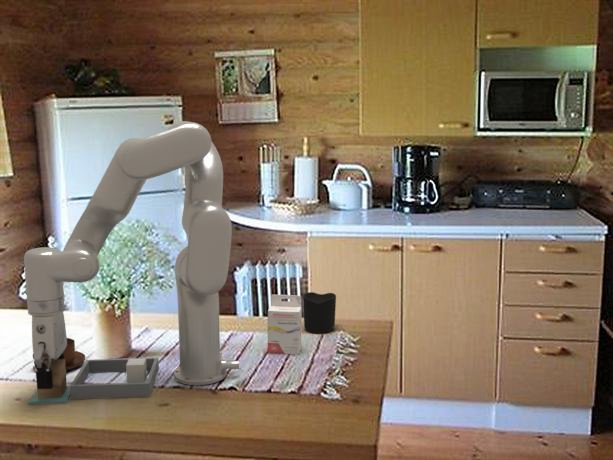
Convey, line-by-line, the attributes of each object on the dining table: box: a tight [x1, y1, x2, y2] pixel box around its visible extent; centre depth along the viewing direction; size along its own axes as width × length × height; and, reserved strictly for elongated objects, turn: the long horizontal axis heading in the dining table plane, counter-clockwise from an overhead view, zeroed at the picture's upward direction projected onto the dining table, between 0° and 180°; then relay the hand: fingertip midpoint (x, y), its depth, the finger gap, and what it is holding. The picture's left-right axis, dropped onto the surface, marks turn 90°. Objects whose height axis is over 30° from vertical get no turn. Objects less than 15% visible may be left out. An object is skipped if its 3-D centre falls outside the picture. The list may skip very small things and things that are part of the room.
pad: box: [28, 385, 71, 405], centre depth 153 cm, size 8×8×1 cm
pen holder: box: [302, 291, 337, 335], centre depth 198 cm, size 9×9×10 cm
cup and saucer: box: [32, 337, 86, 371], centre depth 171 cm, size 12×12×6 cm
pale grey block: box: [125, 359, 148, 383], centre depth 161 cm, size 4×4×5 cm
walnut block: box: [36, 359, 68, 399], centre depth 153 cm, size 5×5×7 cm
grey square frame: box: [69, 357, 160, 400], centre depth 160 cm, size 17×16×3 cm
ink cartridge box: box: [267, 294, 303, 355], centre depth 180 cm, size 9×5×15 cm, turn 84°
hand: (51, 379), depth 153 cm, fingers open, 9 cm apart
